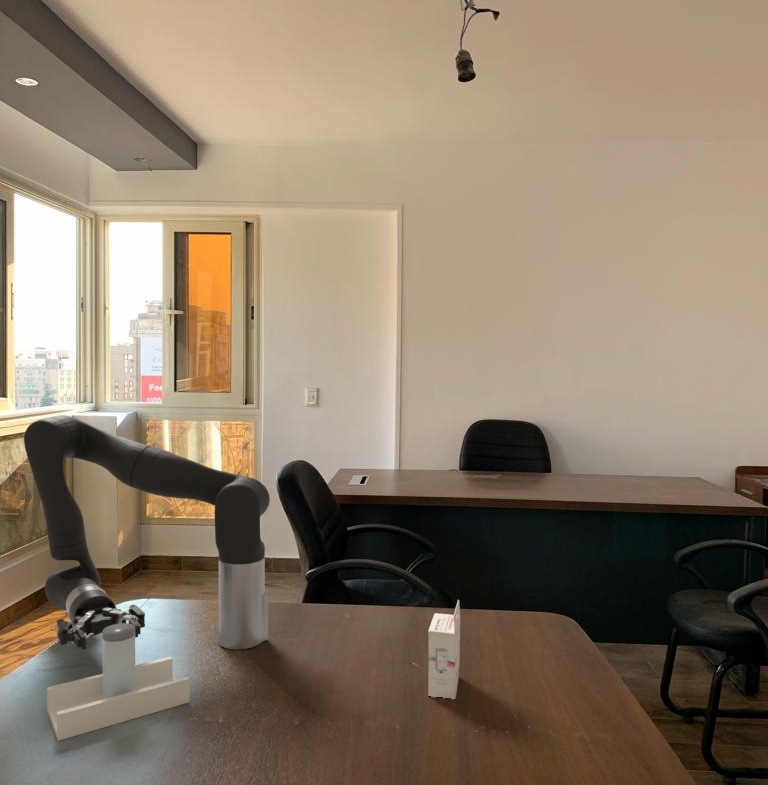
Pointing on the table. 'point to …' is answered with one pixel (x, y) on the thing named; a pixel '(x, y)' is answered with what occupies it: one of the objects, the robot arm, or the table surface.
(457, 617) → the ink cartridge box
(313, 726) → the table surface
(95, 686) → the tray
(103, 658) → the grey capped cylinder
